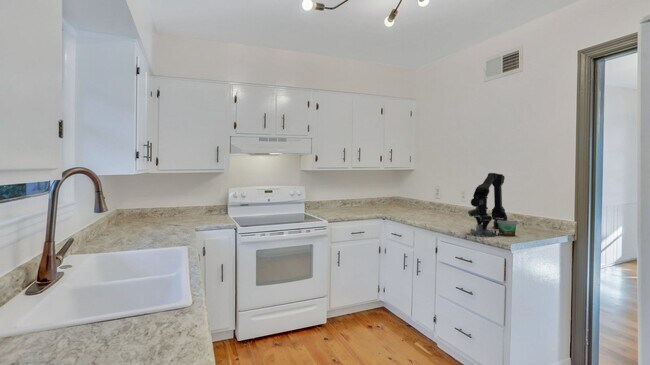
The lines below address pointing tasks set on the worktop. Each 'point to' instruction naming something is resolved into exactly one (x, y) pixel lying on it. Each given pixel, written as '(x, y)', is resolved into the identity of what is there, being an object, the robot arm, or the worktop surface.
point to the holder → (482, 232)
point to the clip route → (491, 235)
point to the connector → (480, 227)
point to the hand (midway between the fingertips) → (481, 228)
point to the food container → (507, 227)
